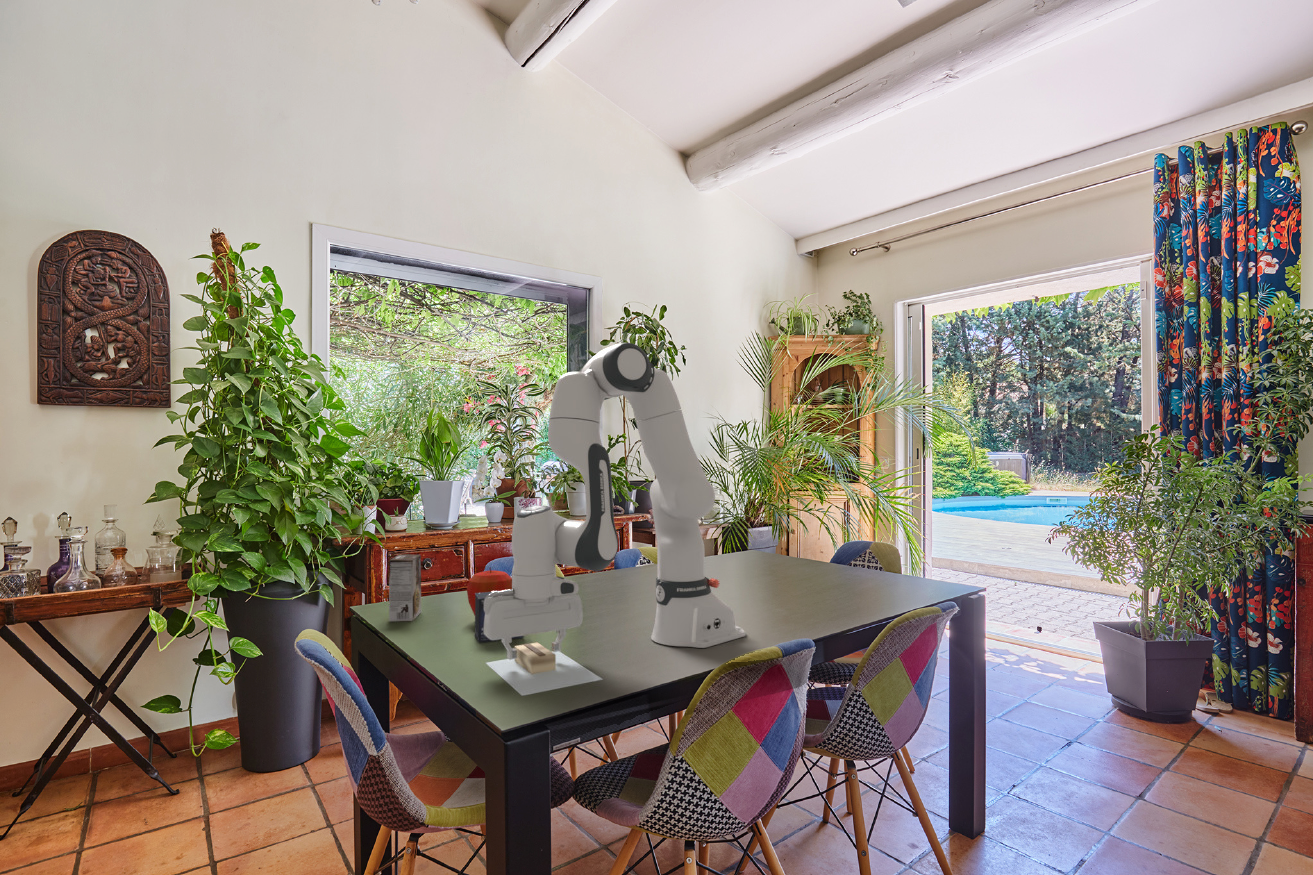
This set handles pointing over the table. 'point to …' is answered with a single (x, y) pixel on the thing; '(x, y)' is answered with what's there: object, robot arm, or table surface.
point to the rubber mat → (543, 675)
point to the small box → (482, 618)
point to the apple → (487, 584)
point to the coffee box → (404, 587)
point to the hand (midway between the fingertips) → (534, 654)
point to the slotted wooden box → (535, 658)
